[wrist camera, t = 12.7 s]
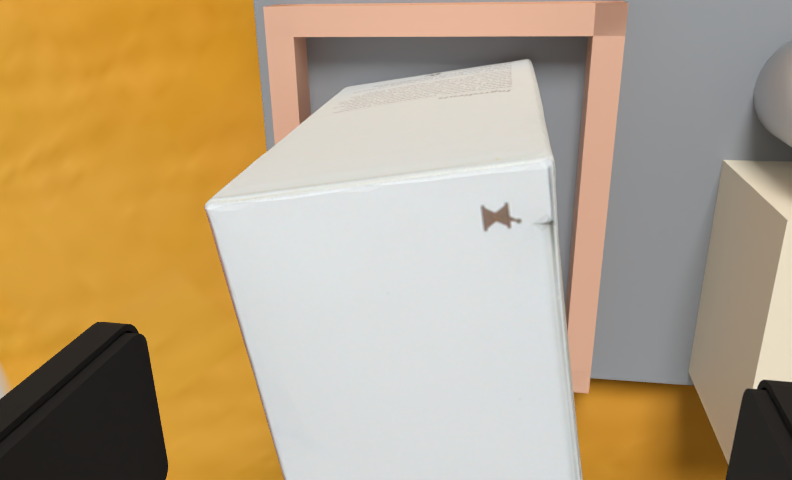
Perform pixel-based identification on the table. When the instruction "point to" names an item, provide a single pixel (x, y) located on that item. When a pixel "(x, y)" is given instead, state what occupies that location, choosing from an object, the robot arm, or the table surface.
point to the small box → (408, 284)
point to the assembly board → (612, 161)
